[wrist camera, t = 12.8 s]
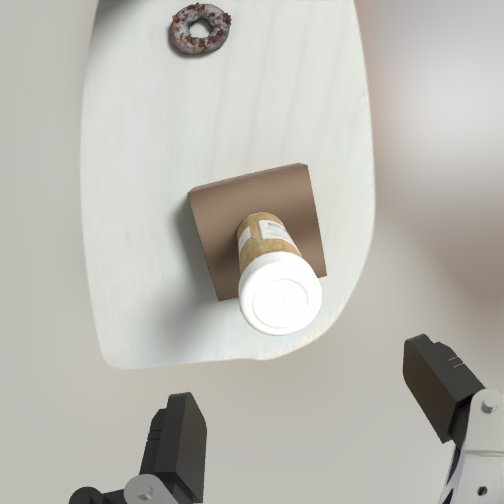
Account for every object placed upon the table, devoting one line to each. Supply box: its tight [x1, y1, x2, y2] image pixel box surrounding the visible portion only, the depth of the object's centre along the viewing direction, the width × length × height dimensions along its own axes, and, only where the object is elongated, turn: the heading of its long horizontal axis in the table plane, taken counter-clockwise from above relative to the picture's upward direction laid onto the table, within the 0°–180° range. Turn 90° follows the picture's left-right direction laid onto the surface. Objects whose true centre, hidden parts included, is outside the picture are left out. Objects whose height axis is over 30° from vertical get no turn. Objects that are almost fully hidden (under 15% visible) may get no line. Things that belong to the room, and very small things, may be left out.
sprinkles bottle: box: [237, 212, 322, 336], centre depth 23 cm, size 5×5×14 cm
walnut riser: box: [187, 163, 327, 301], centre depth 31 cm, size 11×11×4 cm
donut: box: [171, 3, 232, 54], centre depth 26 cm, size 8×8×2 cm
